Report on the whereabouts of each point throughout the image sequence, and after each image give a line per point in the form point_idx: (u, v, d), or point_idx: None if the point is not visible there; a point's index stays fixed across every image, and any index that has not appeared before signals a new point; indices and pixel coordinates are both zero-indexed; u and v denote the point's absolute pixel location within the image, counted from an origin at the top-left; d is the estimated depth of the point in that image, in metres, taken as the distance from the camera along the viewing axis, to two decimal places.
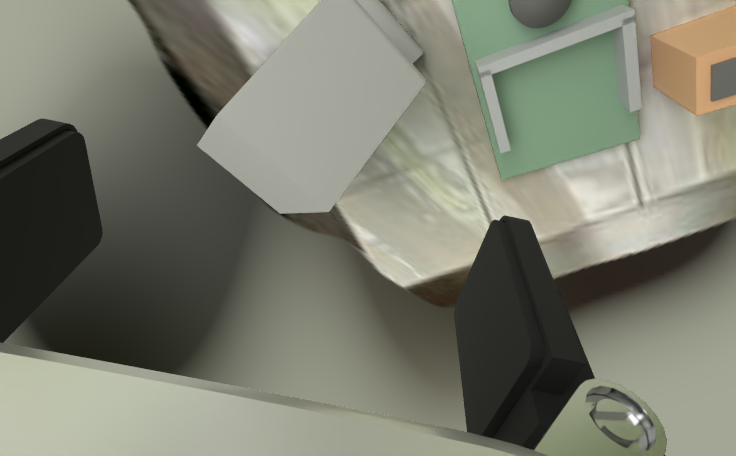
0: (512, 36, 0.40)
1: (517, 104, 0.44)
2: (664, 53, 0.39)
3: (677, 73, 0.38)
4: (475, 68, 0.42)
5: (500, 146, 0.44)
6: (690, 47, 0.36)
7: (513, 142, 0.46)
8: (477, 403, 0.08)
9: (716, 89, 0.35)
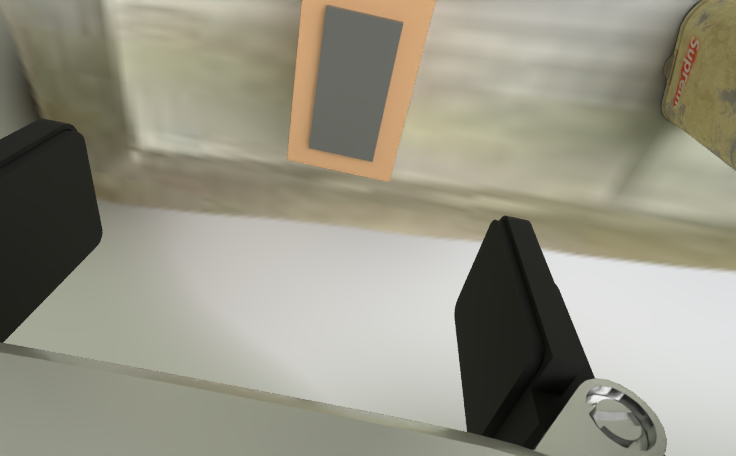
0: None
1: None
2: None
3: None
4: None
5: None
6: None
7: None
8: (477, 402, 0.08)
9: (350, 19, 0.17)
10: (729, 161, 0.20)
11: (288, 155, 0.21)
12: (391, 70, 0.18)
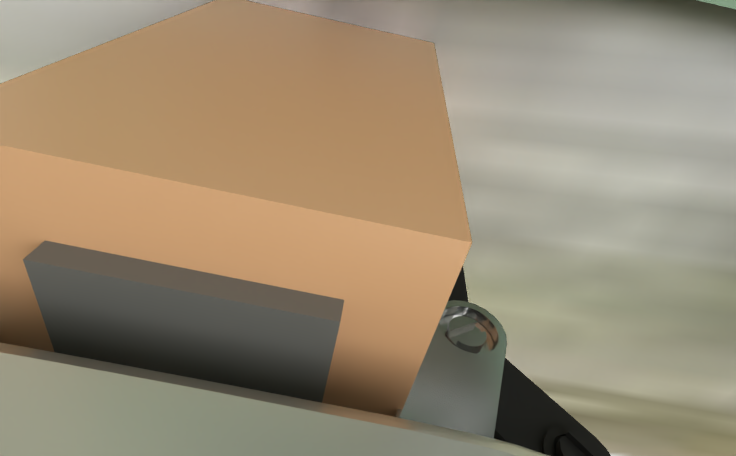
0: None
1: None
2: (386, 64, 0.08)
3: (299, 84, 0.06)
4: None
5: None
6: None
7: None
8: None
9: (131, 300, 0.04)
10: None
11: None
12: None
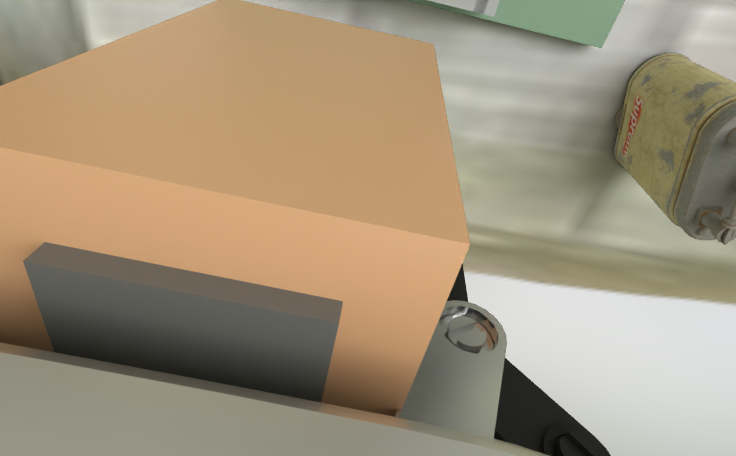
0: None
1: None
2: (385, 65, 0.08)
3: (298, 85, 0.06)
4: None
5: None
6: None
7: None
8: None
9: (130, 301, 0.04)
10: (666, 213, 0.22)
11: None
12: None
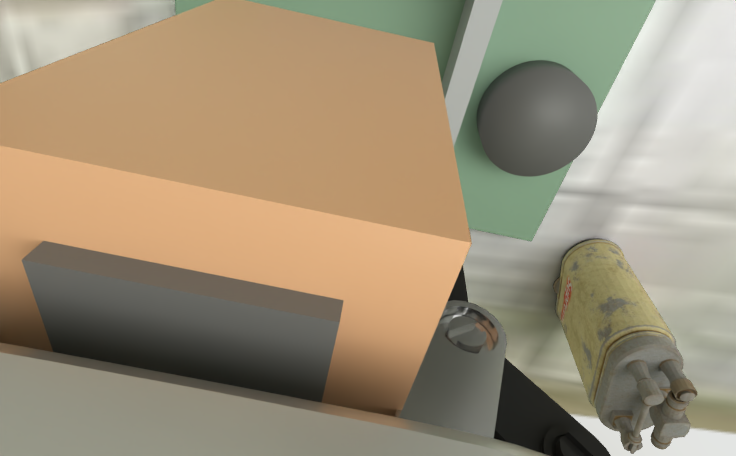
0: (497, 42, 0.19)
1: None
2: (385, 64, 0.08)
3: (299, 83, 0.06)
4: None
5: None
6: None
7: None
8: None
9: (130, 300, 0.04)
10: (590, 400, 0.24)
11: None
12: None
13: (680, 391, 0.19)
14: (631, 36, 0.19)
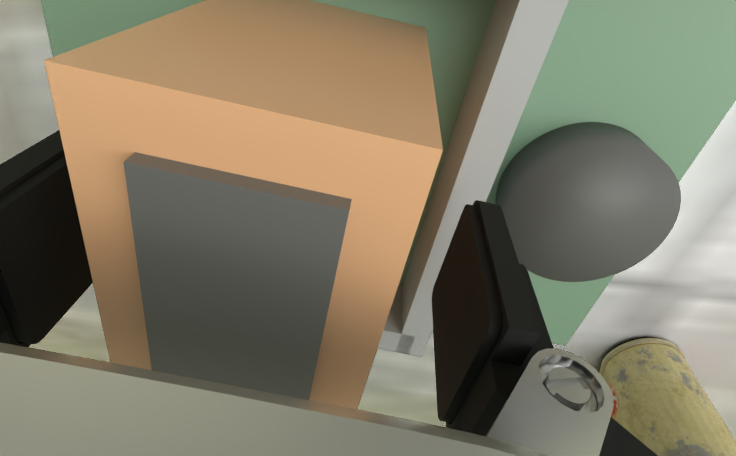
0: (530, 97, 0.13)
1: None
2: (384, 41, 0.10)
3: (314, 51, 0.08)
4: None
5: None
6: None
7: None
8: (447, 378, 0.09)
9: (198, 195, 0.06)
10: None
11: None
12: (325, 304, 0.07)
13: None
14: (734, 90, 0.12)
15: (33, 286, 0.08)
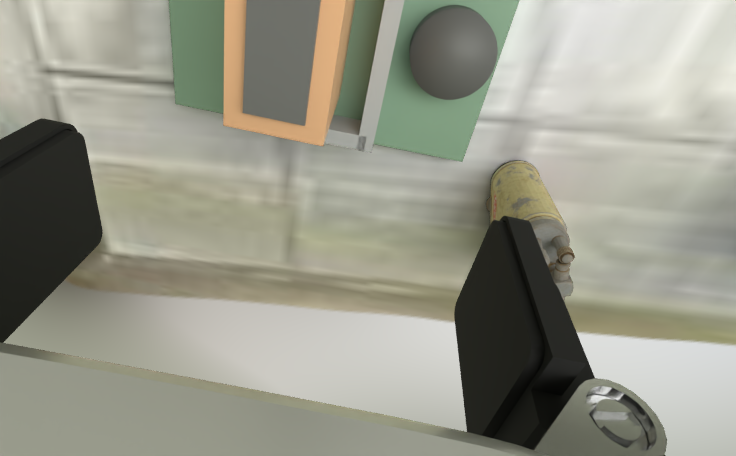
0: None
1: None
2: None
3: None
4: None
5: None
6: None
7: None
8: (478, 403, 0.08)
9: None
10: None
11: (224, 121, 0.22)
12: (314, 34, 0.19)
13: (562, 255, 0.25)
14: None
15: None
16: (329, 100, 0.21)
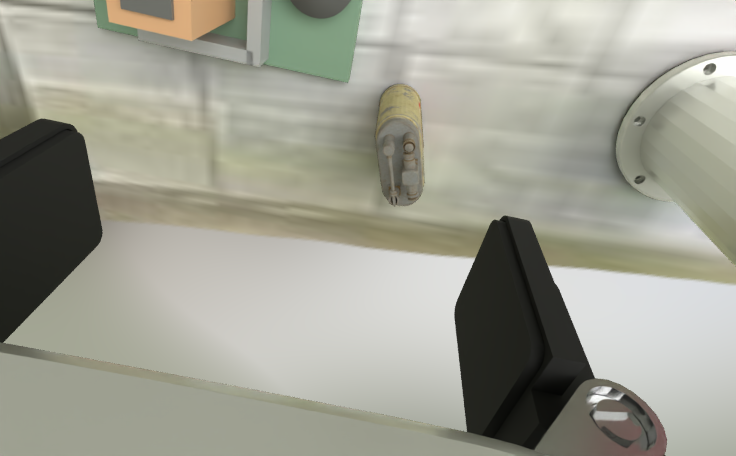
0: None
1: None
2: None
3: None
4: None
5: None
6: None
7: None
8: (478, 403, 0.08)
9: None
10: None
11: (109, 17, 0.26)
12: None
13: (404, 144, 0.29)
14: None
15: None
16: None
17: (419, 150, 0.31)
